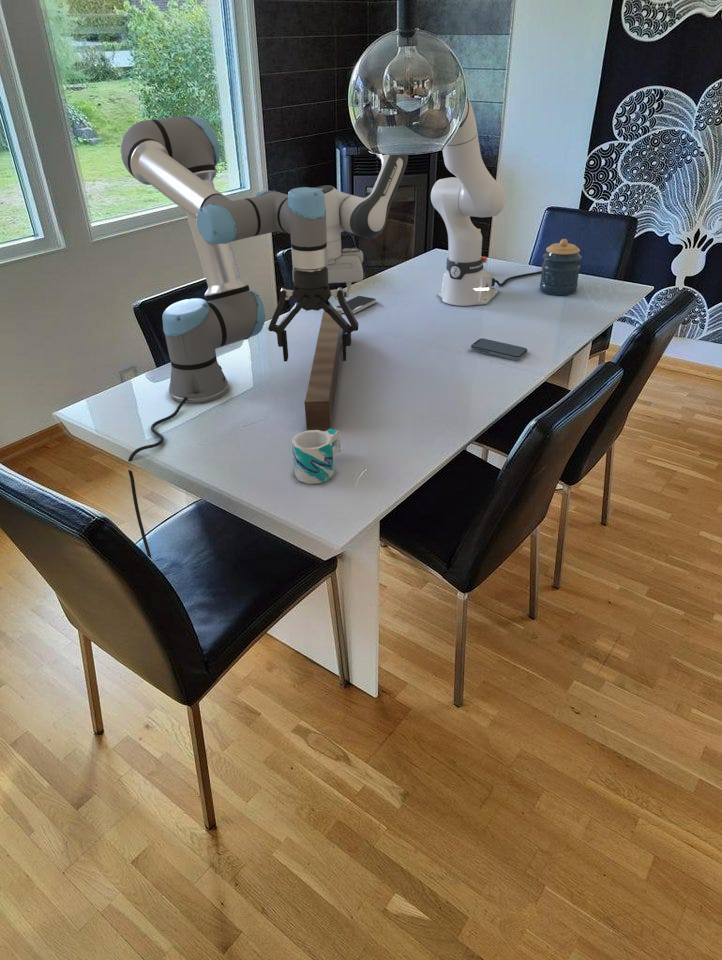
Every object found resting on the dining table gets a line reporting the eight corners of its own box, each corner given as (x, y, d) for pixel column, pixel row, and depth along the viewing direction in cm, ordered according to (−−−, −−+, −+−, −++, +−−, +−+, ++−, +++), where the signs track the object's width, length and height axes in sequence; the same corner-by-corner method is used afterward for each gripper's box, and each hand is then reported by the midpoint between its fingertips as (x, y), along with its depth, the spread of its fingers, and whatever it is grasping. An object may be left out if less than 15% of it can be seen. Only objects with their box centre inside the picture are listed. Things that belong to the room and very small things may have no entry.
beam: (330, 431, 157) (328, 401, 153) (306, 431, 157) (304, 401, 153) (342, 334, 209) (341, 310, 205) (325, 335, 210) (323, 311, 205)
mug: (287, 476, 140) (283, 442, 136) (320, 451, 149) (318, 418, 144) (319, 487, 137) (316, 452, 132) (351, 460, 145) (350, 426, 140)
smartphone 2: (518, 357, 186) (469, 345, 193) (518, 362, 187) (469, 351, 194) (528, 347, 191) (480, 337, 198) (528, 353, 192) (480, 342, 199)
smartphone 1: (376, 298, 233) (351, 311, 223) (376, 302, 234) (352, 315, 224) (358, 295, 237) (333, 307, 227) (358, 299, 238) (333, 311, 228)
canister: (550, 297, 232) (557, 245, 222) (532, 287, 242) (537, 236, 233) (584, 293, 235) (591, 241, 225) (564, 283, 245) (571, 233, 236)
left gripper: (368, 261, 146) (369, 352, 158) (254, 262, 147) (264, 352, 159) (368, 271, 140) (369, 365, 152) (249, 272, 141) (259, 365, 152)
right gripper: (363, 244, 190) (365, 292, 198) (291, 247, 191) (296, 295, 199) (362, 250, 185) (365, 299, 193) (289, 254, 186) (294, 302, 194)
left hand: (315, 359), depth 155 cm, fingers open, 13 cm apart
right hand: (329, 297), depth 196 cm, fingers open, 8 cm apart
